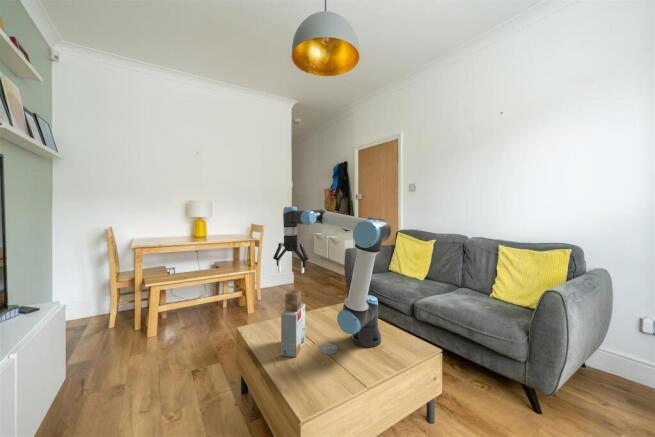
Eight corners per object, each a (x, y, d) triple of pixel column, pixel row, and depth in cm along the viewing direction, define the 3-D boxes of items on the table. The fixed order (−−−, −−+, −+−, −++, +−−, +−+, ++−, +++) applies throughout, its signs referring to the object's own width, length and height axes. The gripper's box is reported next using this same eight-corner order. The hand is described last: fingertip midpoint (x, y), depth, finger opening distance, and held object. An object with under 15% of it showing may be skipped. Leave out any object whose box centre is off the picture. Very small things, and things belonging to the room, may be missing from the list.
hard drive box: (296, 358, 124) (295, 315, 122) (280, 356, 125) (280, 314, 124) (305, 340, 139) (305, 303, 138) (291, 339, 140) (291, 302, 139)
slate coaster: (339, 346, 134) (339, 344, 134) (335, 356, 125) (335, 354, 125) (322, 344, 136) (322, 342, 136) (317, 353, 128) (317, 352, 128)
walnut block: (301, 306, 133) (301, 291, 132) (297, 311, 127) (296, 295, 126) (289, 305, 134) (289, 290, 134) (285, 310, 128) (284, 294, 128)
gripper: (314, 234, 149) (314, 271, 150) (272, 233, 155) (273, 269, 156) (310, 235, 141) (310, 275, 143) (266, 234, 147) (267, 272, 149)
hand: (291, 272), depth 149 cm, fingers open, 13 cm apart
